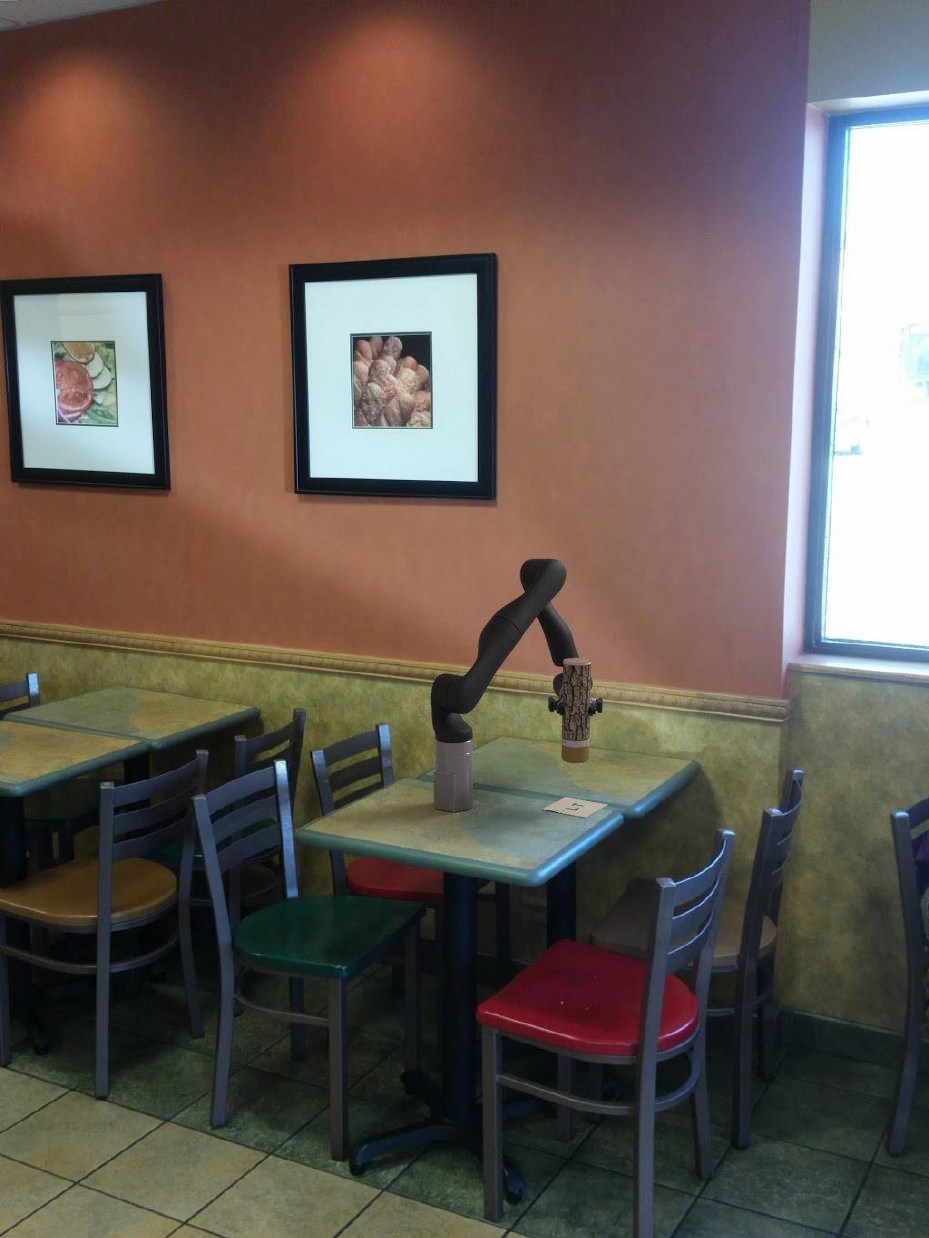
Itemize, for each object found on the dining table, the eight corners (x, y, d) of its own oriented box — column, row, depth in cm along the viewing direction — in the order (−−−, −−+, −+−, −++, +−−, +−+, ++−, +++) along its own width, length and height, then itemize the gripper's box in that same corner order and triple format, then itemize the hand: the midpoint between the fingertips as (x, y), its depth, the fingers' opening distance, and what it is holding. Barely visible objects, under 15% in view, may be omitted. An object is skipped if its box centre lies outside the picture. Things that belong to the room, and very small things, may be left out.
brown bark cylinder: (566, 765, 299) (568, 663, 295) (557, 757, 305) (559, 658, 301) (593, 763, 301) (595, 662, 297) (583, 755, 307) (585, 657, 303)
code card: (585, 818, 297) (585, 817, 297) (542, 809, 303) (542, 809, 303) (608, 805, 306) (608, 804, 306) (565, 797, 313) (565, 796, 313)
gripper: (546, 682, 315) (547, 696, 298) (602, 682, 314) (606, 697, 298) (546, 710, 316) (546, 726, 300) (602, 711, 315) (605, 727, 299)
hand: (576, 711), depth 299 cm, fingers closed on brown bark cylinder, 7 cm apart
